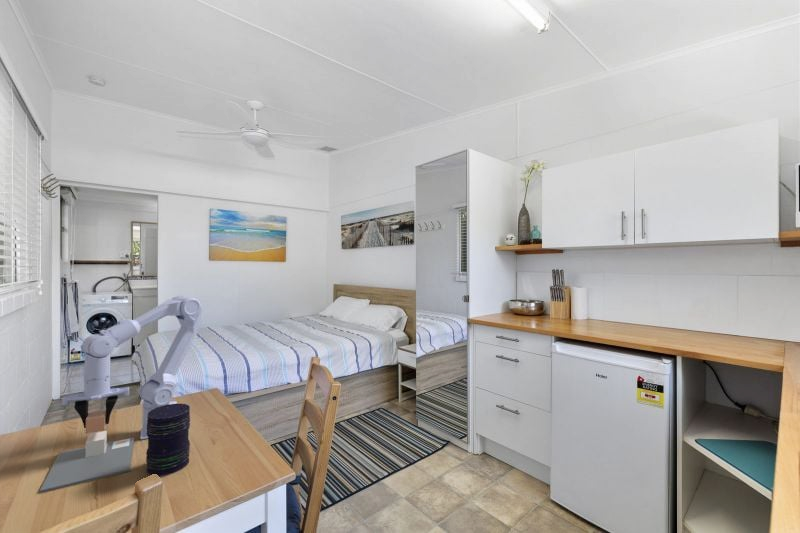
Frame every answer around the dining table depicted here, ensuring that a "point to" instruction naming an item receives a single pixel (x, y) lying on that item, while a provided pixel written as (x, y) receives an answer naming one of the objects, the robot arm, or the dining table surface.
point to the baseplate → (89, 465)
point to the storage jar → (168, 439)
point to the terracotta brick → (96, 421)
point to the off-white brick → (96, 443)
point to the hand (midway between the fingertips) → (96, 424)
